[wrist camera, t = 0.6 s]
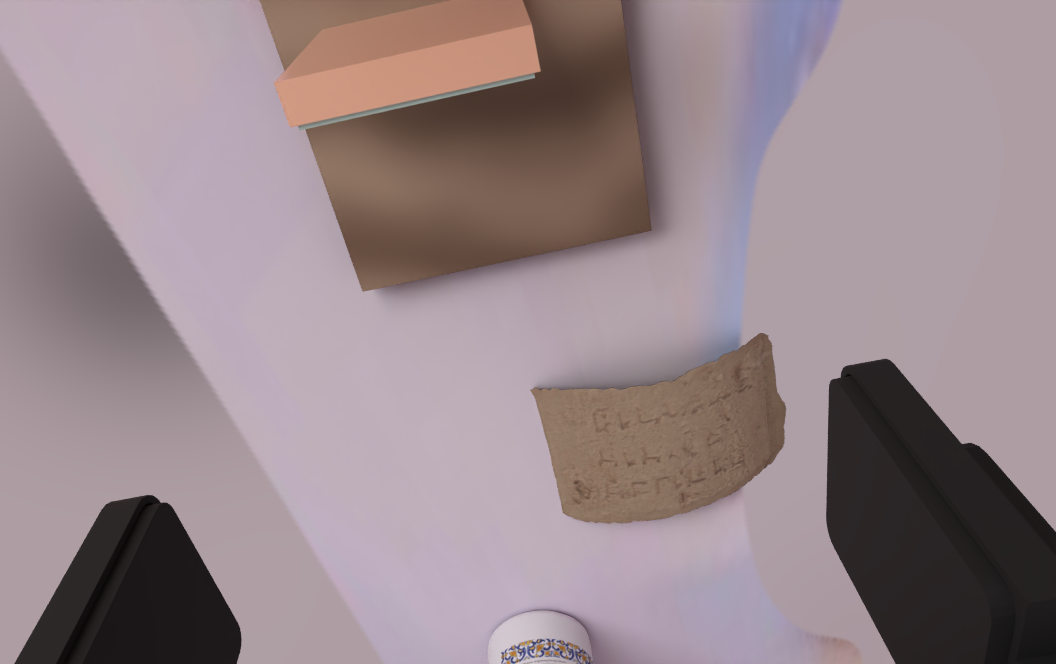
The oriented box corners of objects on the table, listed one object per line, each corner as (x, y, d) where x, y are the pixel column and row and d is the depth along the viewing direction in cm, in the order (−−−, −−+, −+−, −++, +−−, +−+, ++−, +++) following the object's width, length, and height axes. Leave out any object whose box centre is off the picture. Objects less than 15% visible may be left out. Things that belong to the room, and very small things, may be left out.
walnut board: (242, -80, 31) (232, -77, 30) (593, -163, 30) (599, -165, 29) (366, 277, 39) (362, 291, 38) (645, 218, 38) (651, 230, 37)
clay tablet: (767, 319, 42) (784, 345, 40) (785, 459, 48) (801, 490, 45) (509, 384, 44) (510, 413, 41) (553, 514, 49) (556, 546, 46)
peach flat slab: (321, 29, 32) (273, 82, 24) (516, -15, 31) (532, 24, 24) (334, 69, 33) (292, 133, 25) (524, 26, 32) (541, 77, 24)
